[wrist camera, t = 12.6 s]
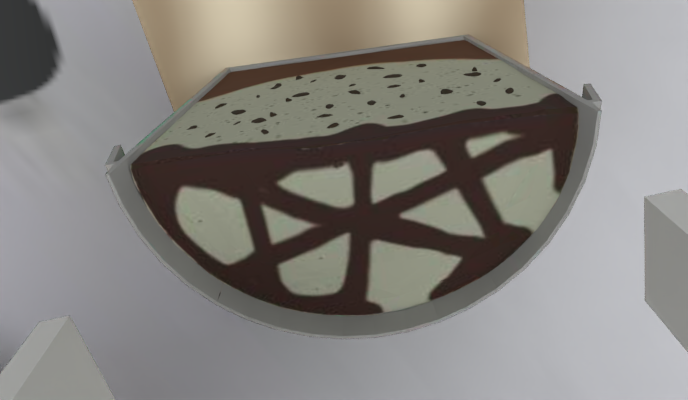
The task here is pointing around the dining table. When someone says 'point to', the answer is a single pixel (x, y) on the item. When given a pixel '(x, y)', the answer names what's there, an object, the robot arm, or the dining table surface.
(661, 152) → the dining table surface
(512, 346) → the dining table surface
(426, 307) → the food container
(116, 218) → the dining table surface
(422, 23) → the birch platform
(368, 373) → the dining table surface
